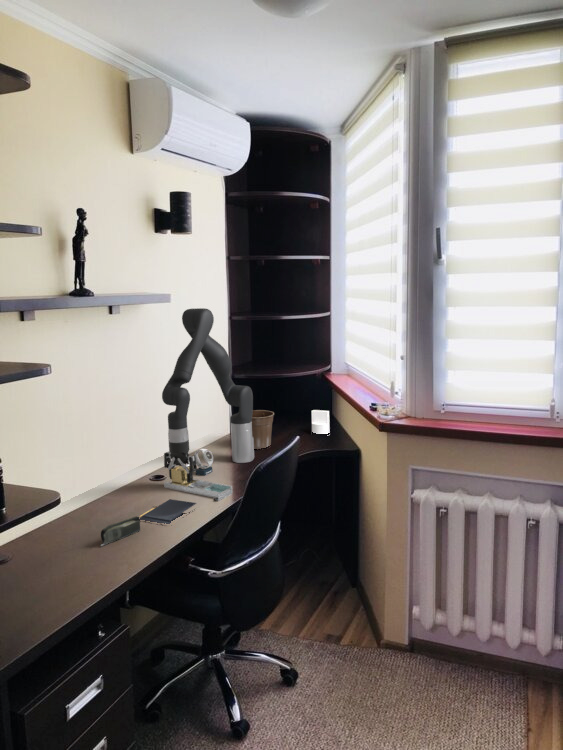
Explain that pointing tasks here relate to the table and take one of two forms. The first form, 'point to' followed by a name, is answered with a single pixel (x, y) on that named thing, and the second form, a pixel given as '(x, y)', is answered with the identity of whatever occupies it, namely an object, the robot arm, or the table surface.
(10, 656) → the table surface
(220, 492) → the tray with compartments
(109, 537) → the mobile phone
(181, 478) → the tan block
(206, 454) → the watch
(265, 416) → the plant pot
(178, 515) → the dark blue notebook
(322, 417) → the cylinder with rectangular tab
